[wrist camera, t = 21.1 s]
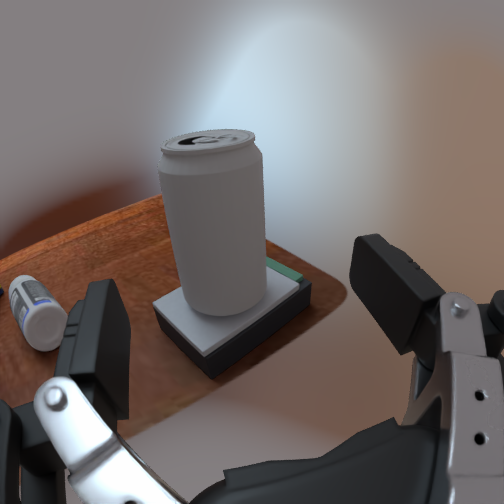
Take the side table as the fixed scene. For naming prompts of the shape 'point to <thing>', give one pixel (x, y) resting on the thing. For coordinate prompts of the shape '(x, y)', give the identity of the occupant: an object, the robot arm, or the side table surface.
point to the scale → (233, 321)
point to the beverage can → (216, 218)
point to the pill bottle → (37, 313)
